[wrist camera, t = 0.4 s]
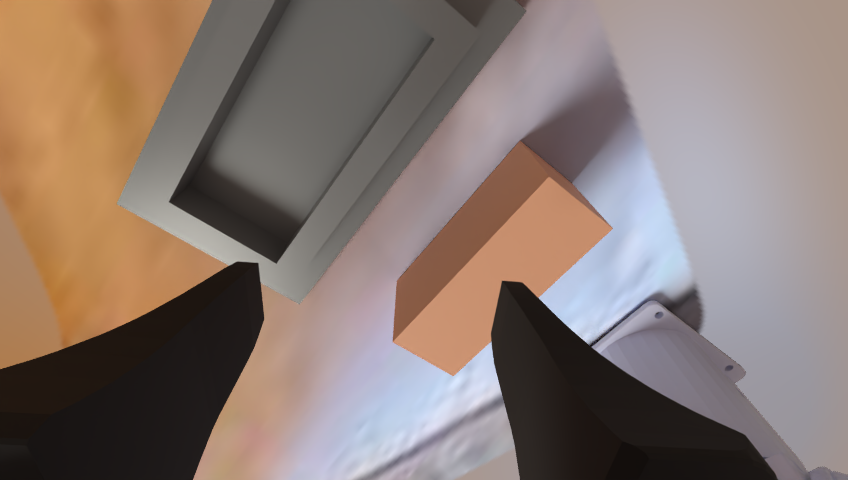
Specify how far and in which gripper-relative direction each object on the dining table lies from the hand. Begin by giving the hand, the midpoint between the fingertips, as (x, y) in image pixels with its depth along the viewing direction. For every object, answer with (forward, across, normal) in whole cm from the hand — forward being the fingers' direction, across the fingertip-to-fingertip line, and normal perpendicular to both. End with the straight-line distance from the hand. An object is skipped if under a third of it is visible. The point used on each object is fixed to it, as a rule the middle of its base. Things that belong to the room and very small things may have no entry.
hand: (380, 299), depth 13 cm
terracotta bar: (+10, -5, +2) cm, 11 cm away
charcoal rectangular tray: (+9, +4, -3) cm, 11 cm away
